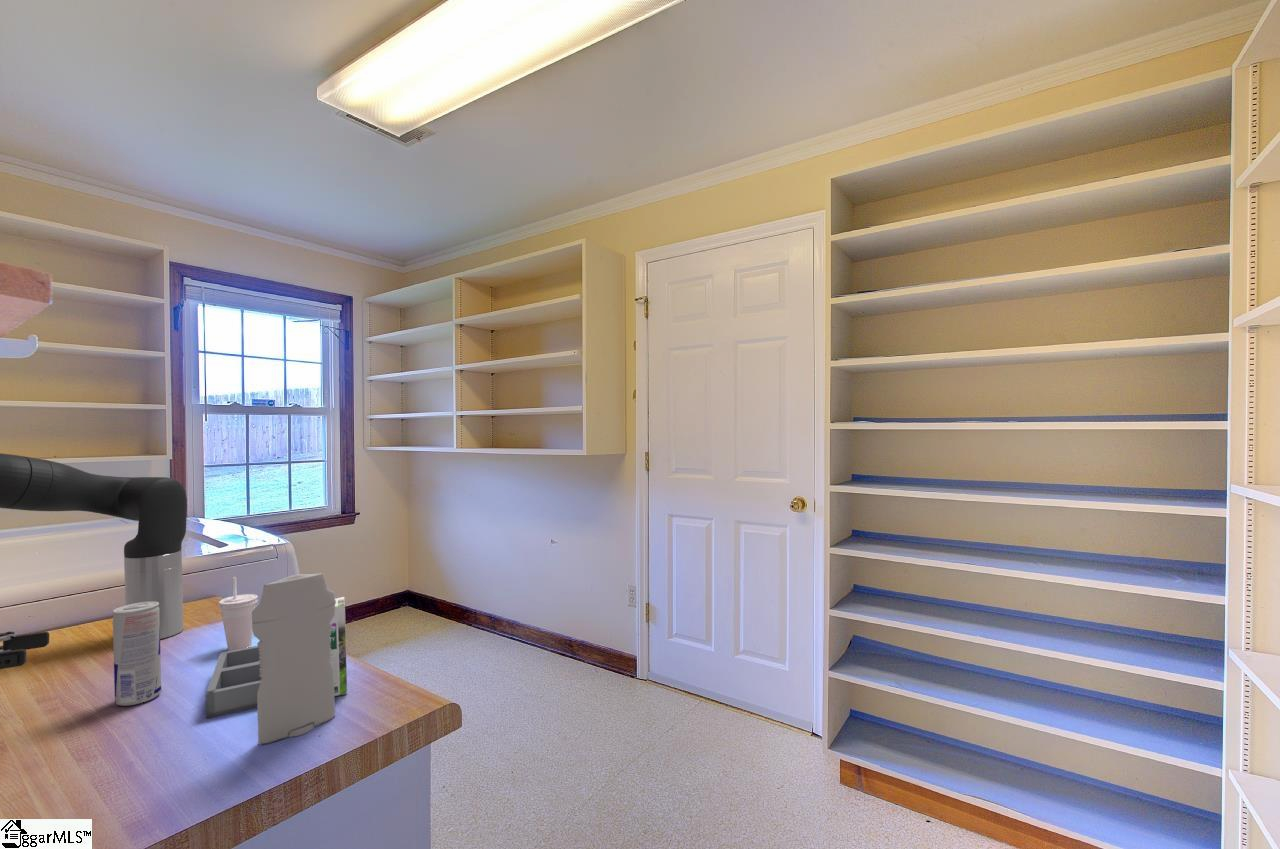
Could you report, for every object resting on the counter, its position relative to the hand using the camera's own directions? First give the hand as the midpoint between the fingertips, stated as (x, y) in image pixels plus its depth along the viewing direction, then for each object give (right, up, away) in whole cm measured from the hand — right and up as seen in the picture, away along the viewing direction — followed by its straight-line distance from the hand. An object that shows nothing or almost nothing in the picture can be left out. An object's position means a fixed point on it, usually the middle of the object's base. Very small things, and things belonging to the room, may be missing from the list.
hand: (37, 647), depth 85 cm
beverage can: (+10, -11, +6) cm, 16 cm away
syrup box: (+39, -10, +7) cm, 41 cm away
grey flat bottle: (+42, -10, -4) cm, 43 cm away
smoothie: (+11, -11, +27) cm, 31 cm away
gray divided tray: (+25, -10, +10) cm, 29 cm away
